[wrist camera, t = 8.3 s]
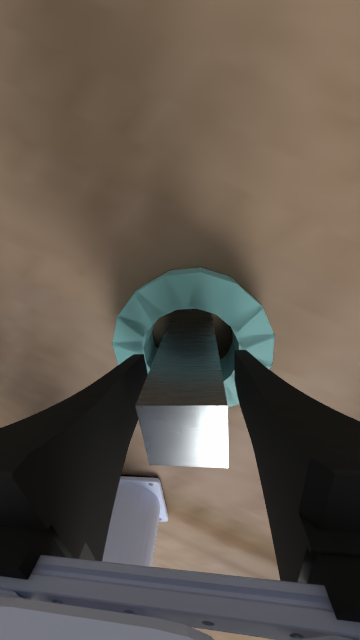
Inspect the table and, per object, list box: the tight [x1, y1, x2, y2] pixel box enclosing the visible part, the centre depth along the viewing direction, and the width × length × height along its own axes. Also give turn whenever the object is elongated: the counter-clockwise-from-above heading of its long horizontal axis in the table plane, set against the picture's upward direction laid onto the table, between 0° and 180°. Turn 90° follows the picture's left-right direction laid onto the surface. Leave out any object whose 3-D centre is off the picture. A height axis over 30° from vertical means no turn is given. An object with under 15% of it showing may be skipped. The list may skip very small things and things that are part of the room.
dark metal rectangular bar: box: [135, 319, 229, 468], centre depth 11 cm, size 3×3×8 cm
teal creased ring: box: [112, 267, 275, 407], centre depth 13 cm, size 10×10×2 cm
